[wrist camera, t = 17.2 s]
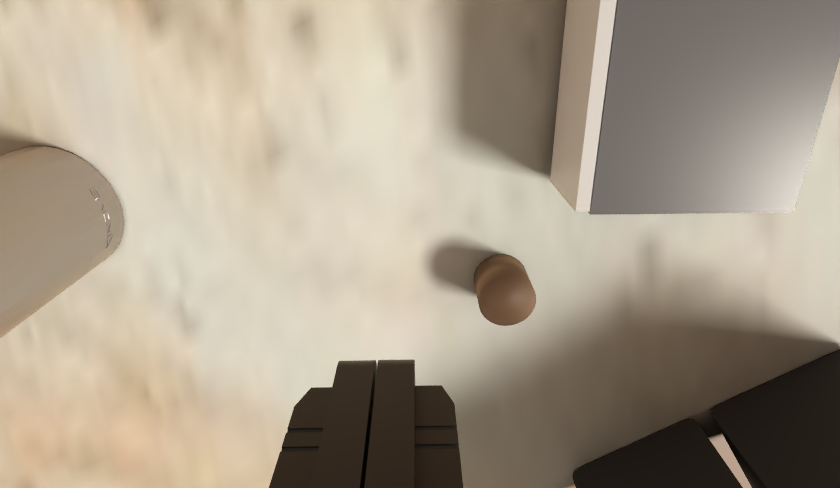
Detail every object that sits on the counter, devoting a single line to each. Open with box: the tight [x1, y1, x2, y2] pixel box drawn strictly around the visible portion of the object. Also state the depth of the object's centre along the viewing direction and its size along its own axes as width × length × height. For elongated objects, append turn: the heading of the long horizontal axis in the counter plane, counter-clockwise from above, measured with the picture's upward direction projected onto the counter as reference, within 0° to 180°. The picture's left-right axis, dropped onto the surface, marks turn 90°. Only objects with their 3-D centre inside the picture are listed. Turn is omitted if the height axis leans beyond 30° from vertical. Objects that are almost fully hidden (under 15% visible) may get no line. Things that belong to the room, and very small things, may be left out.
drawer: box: [550, 0, 617, 212], centre depth 30 cm, size 9×13×6 cm
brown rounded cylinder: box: [474, 255, 536, 326], centre depth 37 cm, size 4×4×4 cm
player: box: [588, 0, 840, 214], centre depth 30 cm, size 12×14×6 cm
